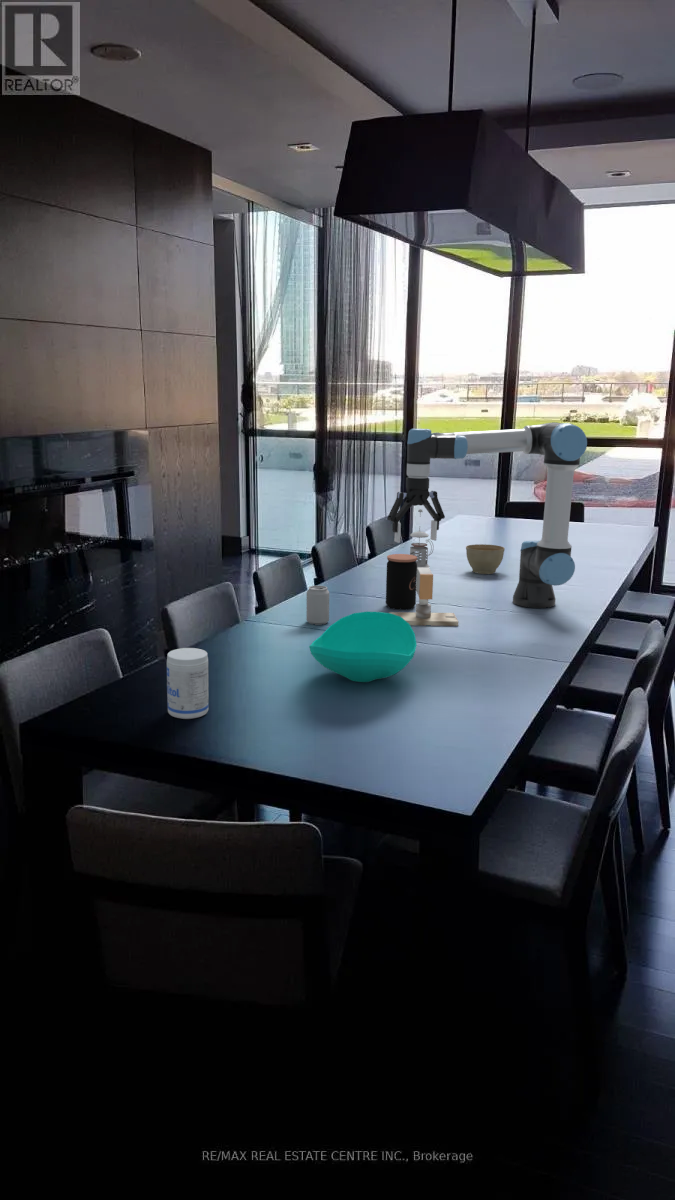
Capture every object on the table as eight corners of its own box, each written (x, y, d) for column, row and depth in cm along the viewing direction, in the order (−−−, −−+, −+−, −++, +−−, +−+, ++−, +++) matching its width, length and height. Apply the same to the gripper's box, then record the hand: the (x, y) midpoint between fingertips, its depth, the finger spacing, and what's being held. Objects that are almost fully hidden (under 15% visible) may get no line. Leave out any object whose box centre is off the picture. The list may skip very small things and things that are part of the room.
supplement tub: (159, 713, 203) (157, 653, 199) (190, 702, 210) (189, 644, 206) (186, 723, 197) (184, 662, 193) (217, 712, 204) (216, 653, 200)
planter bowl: (508, 571, 368) (510, 546, 365) (494, 578, 354) (495, 552, 352) (474, 567, 376) (475, 542, 373) (458, 573, 363) (459, 547, 360)
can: (332, 621, 285) (333, 586, 282) (323, 626, 278) (323, 590, 275) (312, 618, 288) (312, 583, 285) (302, 623, 281) (302, 588, 278)
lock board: (453, 617, 292) (454, 601, 291) (458, 625, 281) (459, 609, 280) (388, 616, 292) (389, 600, 291) (391, 625, 281) (391, 608, 280)
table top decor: (399, 708, 208) (401, 656, 204) (290, 697, 214) (290, 646, 211) (425, 660, 245) (427, 615, 242) (331, 651, 252) (332, 607, 248)
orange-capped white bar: (427, 599, 291) (429, 567, 288) (431, 608, 279) (433, 575, 277) (415, 599, 291) (416, 567, 288) (419, 608, 279) (420, 574, 277)
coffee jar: (413, 611, 299) (415, 560, 295) (383, 609, 301) (384, 558, 297) (417, 603, 310) (419, 554, 305) (387, 602, 312) (389, 553, 307)
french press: (414, 563, 383) (416, 506, 377) (437, 566, 376) (439, 509, 370) (402, 566, 375) (404, 509, 369) (426, 569, 368) (428, 511, 362)
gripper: (445, 474, 289) (442, 537, 294) (378, 476, 280) (376, 541, 285) (456, 477, 282) (453, 540, 287) (388, 478, 273) (386, 544, 278)
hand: (415, 541), depth 286 cm, fingers open, 13 cm apart
